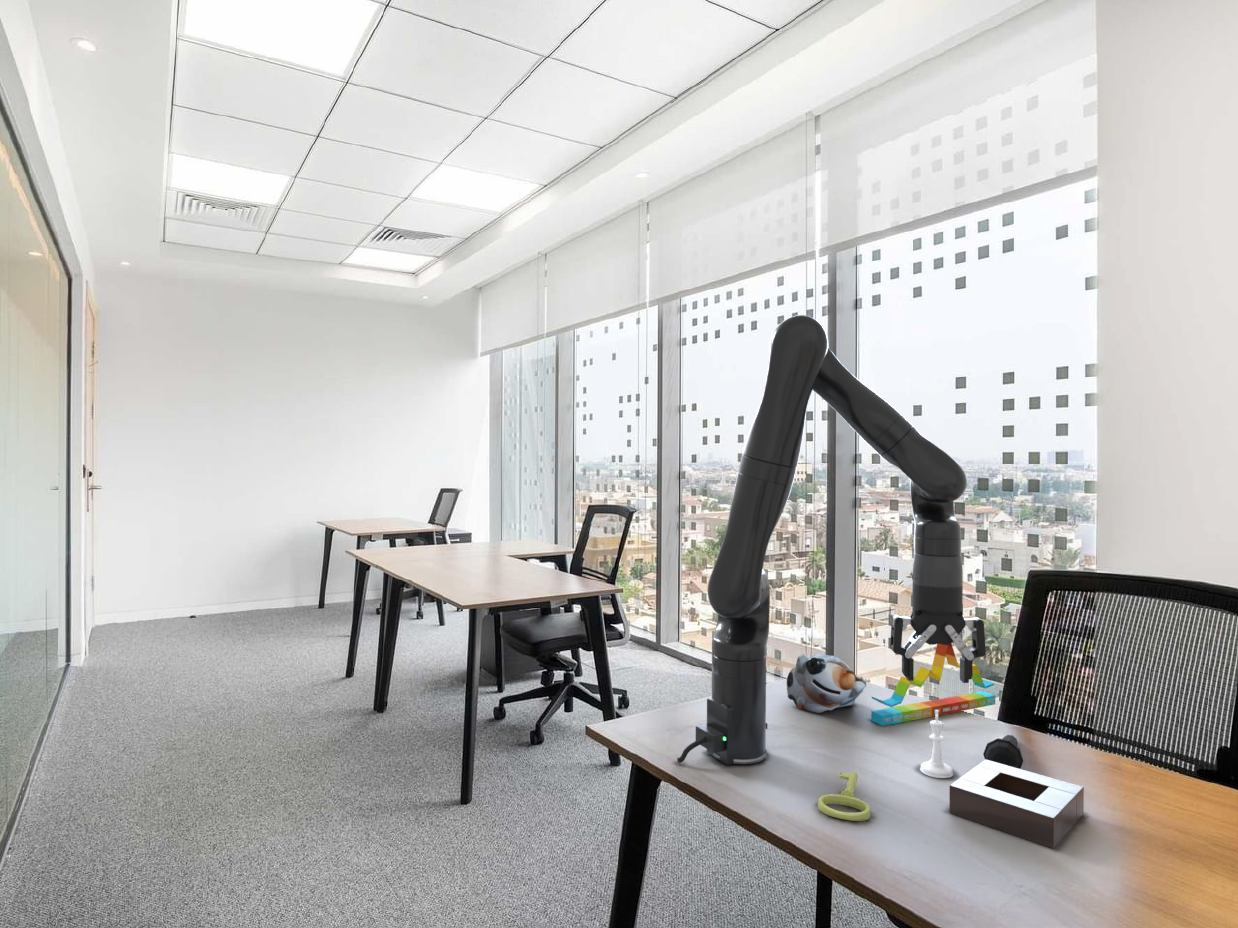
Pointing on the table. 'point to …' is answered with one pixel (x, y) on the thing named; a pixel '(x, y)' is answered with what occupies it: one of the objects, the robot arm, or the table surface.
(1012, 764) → the microphone
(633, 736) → the table surface
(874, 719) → the chart
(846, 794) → the key
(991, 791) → the holder
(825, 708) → the lucky cat figurine
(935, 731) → the chess piece
